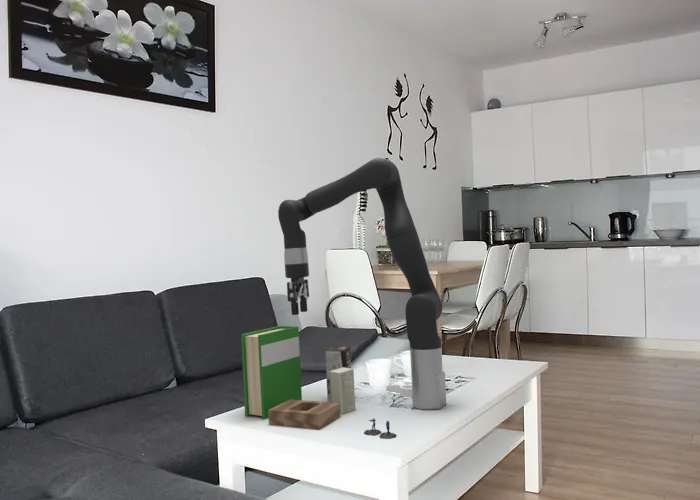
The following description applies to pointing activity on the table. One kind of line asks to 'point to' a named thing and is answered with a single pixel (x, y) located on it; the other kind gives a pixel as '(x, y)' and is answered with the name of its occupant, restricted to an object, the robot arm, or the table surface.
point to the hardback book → (270, 368)
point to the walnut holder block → (304, 414)
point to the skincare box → (343, 388)
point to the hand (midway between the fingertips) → (299, 313)
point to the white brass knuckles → (402, 387)
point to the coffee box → (336, 362)
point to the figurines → (383, 435)
